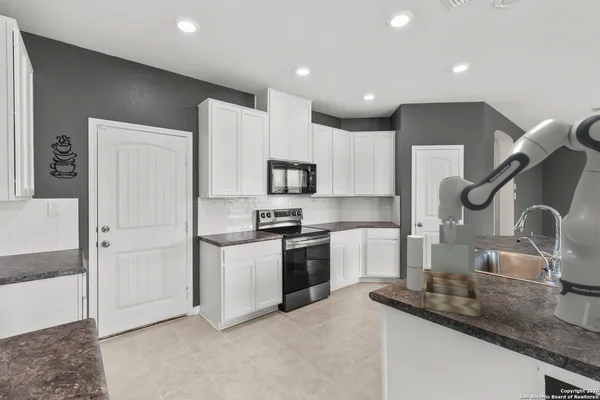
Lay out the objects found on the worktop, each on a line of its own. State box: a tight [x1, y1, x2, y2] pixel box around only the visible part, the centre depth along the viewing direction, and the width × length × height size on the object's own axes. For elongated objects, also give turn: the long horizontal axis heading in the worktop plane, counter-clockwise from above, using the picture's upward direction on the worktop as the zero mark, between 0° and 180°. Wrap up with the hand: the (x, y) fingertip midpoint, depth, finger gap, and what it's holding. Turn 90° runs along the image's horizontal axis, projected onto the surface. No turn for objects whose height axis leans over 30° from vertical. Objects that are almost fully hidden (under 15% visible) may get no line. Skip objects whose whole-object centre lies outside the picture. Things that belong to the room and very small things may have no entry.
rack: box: [421, 267, 482, 318], centre depth 115 cm, size 20×16×12 cm
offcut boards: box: [433, 271, 468, 298], centre depth 113 cm, size 12×6×13 cm, turn 64°
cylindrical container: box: [406, 234, 424, 292], centre depth 134 cm, size 7×7×25 cm
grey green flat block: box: [430, 242, 469, 276], centre depth 119 cm, size 14×2×24 cm, turn 64°
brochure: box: [438, 223, 476, 274], centre depth 136 cm, size 14×6×30 cm, turn 84°
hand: (449, 247), depth 118 cm, fingers open, 8 cm apart
